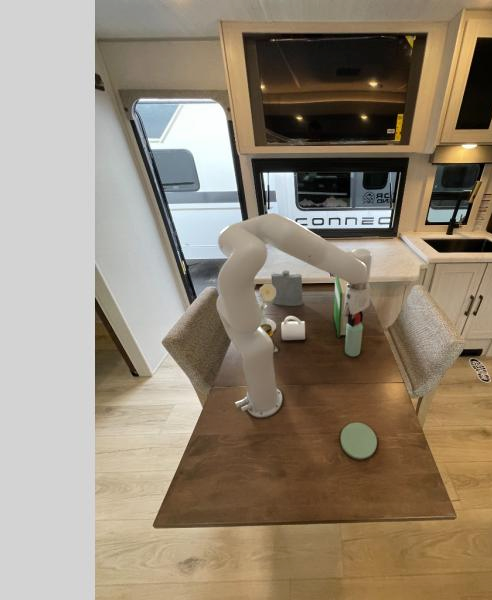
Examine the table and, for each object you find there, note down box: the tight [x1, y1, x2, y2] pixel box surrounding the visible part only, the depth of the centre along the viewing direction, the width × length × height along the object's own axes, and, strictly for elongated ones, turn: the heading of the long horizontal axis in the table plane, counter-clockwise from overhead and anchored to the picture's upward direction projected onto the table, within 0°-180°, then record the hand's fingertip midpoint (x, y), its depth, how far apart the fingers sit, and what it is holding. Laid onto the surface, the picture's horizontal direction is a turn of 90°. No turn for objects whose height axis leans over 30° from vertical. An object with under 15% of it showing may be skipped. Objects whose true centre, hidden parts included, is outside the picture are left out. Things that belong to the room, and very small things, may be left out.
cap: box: [351, 313, 361, 325], centre depth 105 cm, size 4×4×4 cm
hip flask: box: [270, 269, 304, 307], centre depth 141 cm, size 16×4×20 cm, turn 86°
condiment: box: [260, 324, 279, 354], centre depth 112 cm, size 7×8×12 cm
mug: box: [280, 315, 306, 341], centre depth 119 cm, size 8×10×12 cm
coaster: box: [340, 422, 378, 460], centre depth 81 cm, size 11×11×1 cm
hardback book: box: [333, 275, 351, 338], centre depth 124 cm, size 18×7×24 cm, turn 4°
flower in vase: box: [258, 282, 277, 333], centre depth 120 cm, size 13×11×25 cm
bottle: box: [344, 322, 364, 357], centre depth 110 cm, size 7×7×19 cm
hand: (354, 322), depth 106 cm, fingers closed on cap, 3 cm apart
